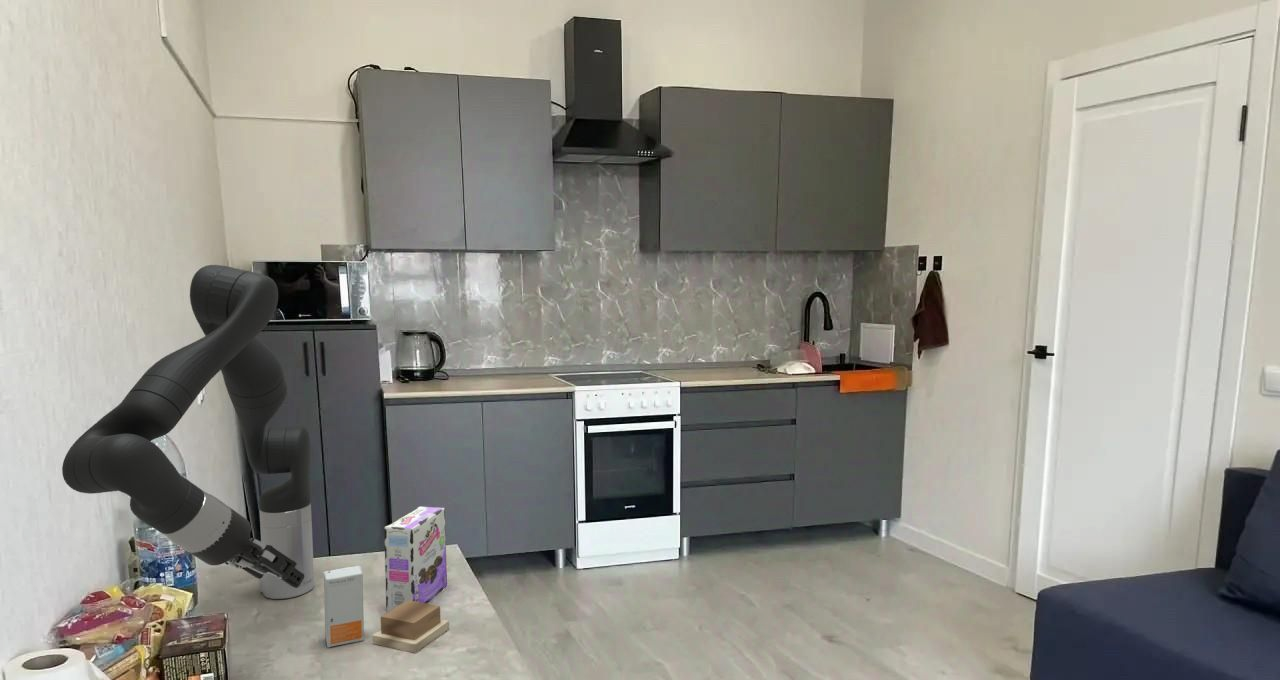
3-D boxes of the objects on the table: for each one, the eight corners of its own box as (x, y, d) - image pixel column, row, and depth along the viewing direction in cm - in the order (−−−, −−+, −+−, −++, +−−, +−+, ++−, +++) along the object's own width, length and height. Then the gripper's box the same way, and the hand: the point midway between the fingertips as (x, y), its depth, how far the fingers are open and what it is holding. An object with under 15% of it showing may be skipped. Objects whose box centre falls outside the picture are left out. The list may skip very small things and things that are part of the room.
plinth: (372, 643, 123) (371, 618, 123) (407, 620, 132) (407, 596, 131) (415, 653, 120) (414, 626, 120) (448, 629, 128) (448, 604, 128)
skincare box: (327, 649, 122) (324, 579, 121) (325, 638, 125) (322, 571, 124) (365, 640, 124) (363, 573, 123) (362, 630, 128) (360, 564, 127)
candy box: (414, 615, 134) (411, 528, 133) (385, 613, 135) (382, 526, 134) (448, 585, 147) (446, 506, 146) (421, 583, 148) (419, 504, 147)
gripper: (255, 509, 101) (326, 562, 112) (192, 497, 108) (266, 548, 119) (220, 559, 97) (298, 609, 108) (157, 543, 103) (236, 592, 114)
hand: (281, 577), depth 113 cm, fingers open, 8 cm apart
